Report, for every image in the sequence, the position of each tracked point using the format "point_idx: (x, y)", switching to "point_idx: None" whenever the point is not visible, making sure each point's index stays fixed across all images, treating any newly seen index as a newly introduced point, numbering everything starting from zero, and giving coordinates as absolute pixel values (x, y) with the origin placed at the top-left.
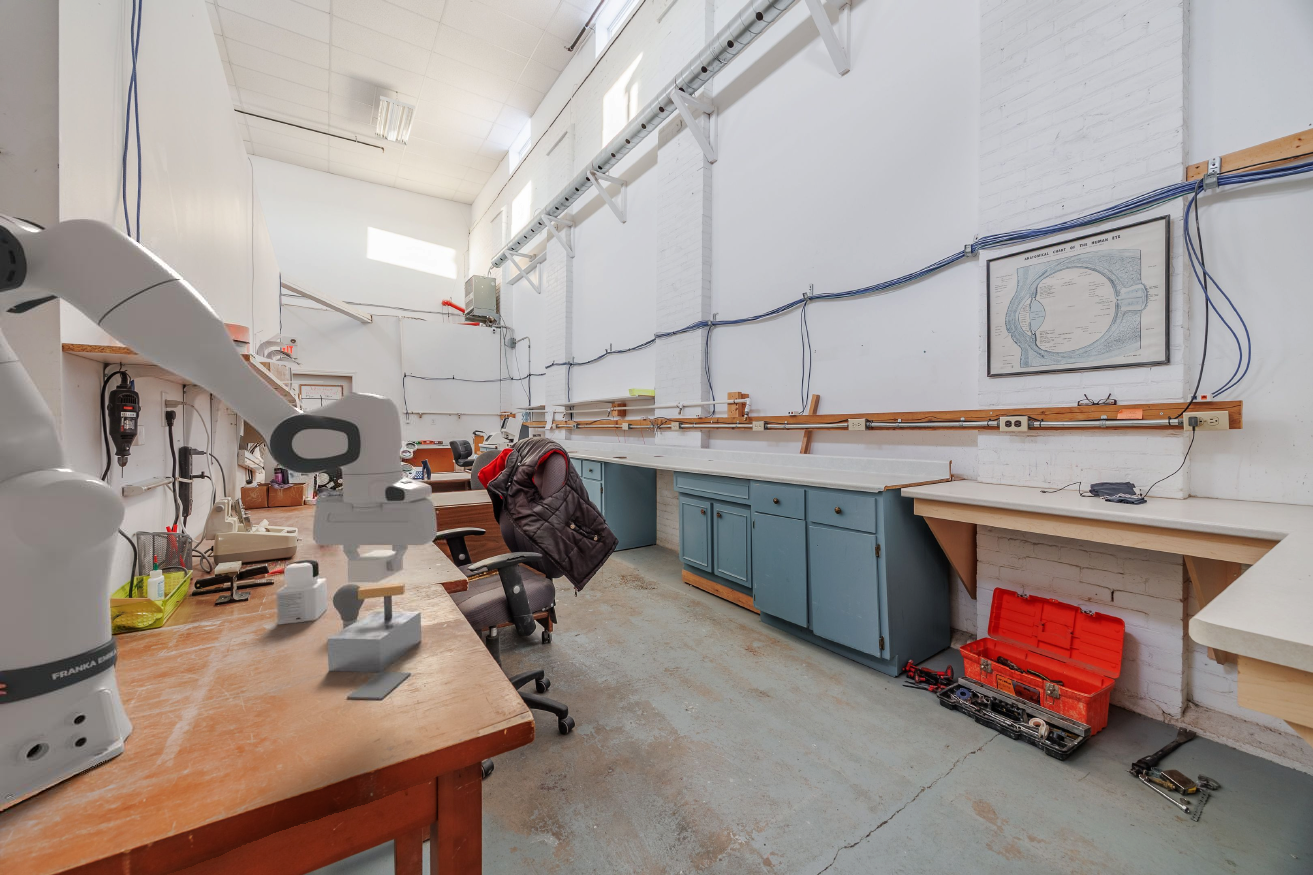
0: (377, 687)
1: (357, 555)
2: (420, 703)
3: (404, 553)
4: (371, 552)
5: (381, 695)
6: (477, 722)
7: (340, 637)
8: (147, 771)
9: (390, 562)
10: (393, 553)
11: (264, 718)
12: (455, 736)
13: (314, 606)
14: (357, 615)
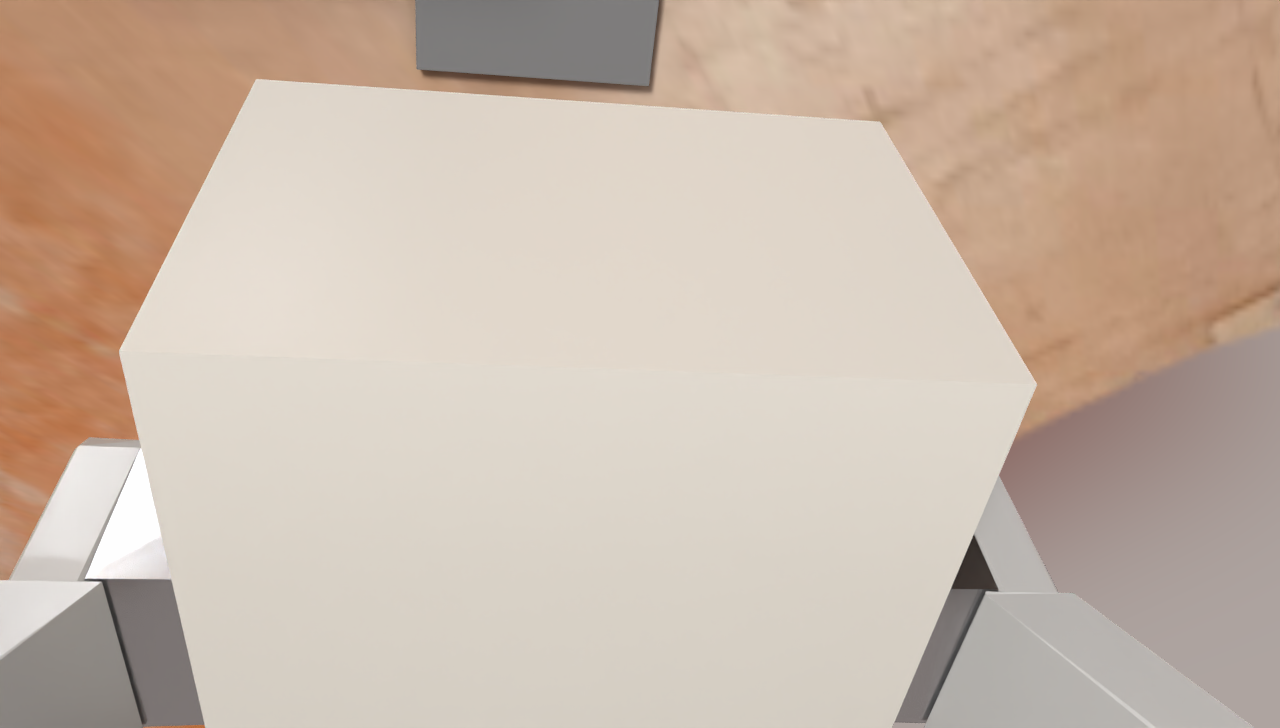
0: None
1: (33, 691)
2: (893, 124)
3: (1182, 688)
4: (247, 581)
5: (631, 59)
6: (1205, 277)
7: None
8: (4, 529)
9: (903, 707)
10: (902, 638)
11: (97, 240)
12: (1117, 360)
13: None
14: None
